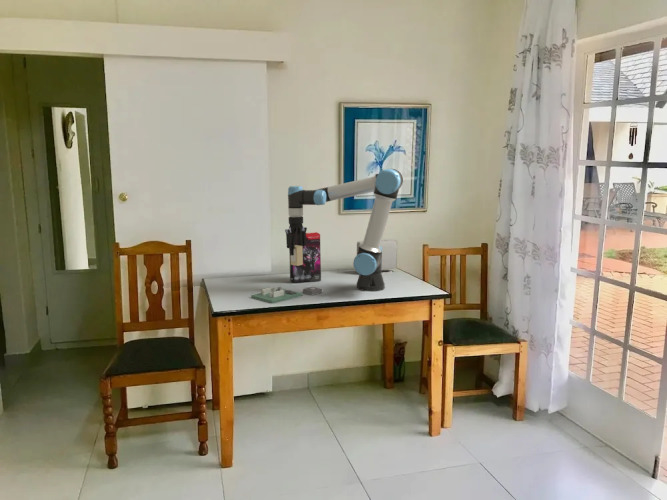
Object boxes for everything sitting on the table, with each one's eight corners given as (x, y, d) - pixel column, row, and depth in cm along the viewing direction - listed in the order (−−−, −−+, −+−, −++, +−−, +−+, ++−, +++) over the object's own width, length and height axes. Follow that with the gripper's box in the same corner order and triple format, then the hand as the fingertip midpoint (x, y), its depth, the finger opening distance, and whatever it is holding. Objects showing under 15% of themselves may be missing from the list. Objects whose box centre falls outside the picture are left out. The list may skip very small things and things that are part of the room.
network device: (360, 275, 316) (361, 242, 313) (354, 273, 324) (354, 240, 321) (398, 272, 326) (399, 240, 323) (391, 269, 334) (392, 238, 331)
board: (302, 295, 269) (302, 288, 269) (272, 303, 255) (272, 295, 254) (281, 290, 280) (281, 283, 279) (251, 297, 265) (251, 290, 265)
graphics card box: (292, 283, 296) (291, 235, 291) (288, 281, 302) (288, 233, 298) (321, 281, 302) (321, 233, 297) (317, 278, 308) (317, 232, 304)
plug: (302, 264, 280) (302, 245, 278) (297, 265, 277) (296, 246, 275) (295, 263, 284) (295, 244, 282) (289, 264, 281) (289, 245, 279)
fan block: (322, 292, 276) (322, 288, 275) (312, 295, 271) (312, 290, 270) (312, 290, 281) (312, 285, 280) (302, 292, 275) (302, 288, 275)
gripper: (302, 214, 285) (303, 257, 288) (278, 217, 272) (279, 262, 276) (312, 215, 279) (313, 259, 283) (288, 218, 267) (289, 263, 271)
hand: (296, 260), depth 280 cm, fingers closed on plug, 4 cm apart
